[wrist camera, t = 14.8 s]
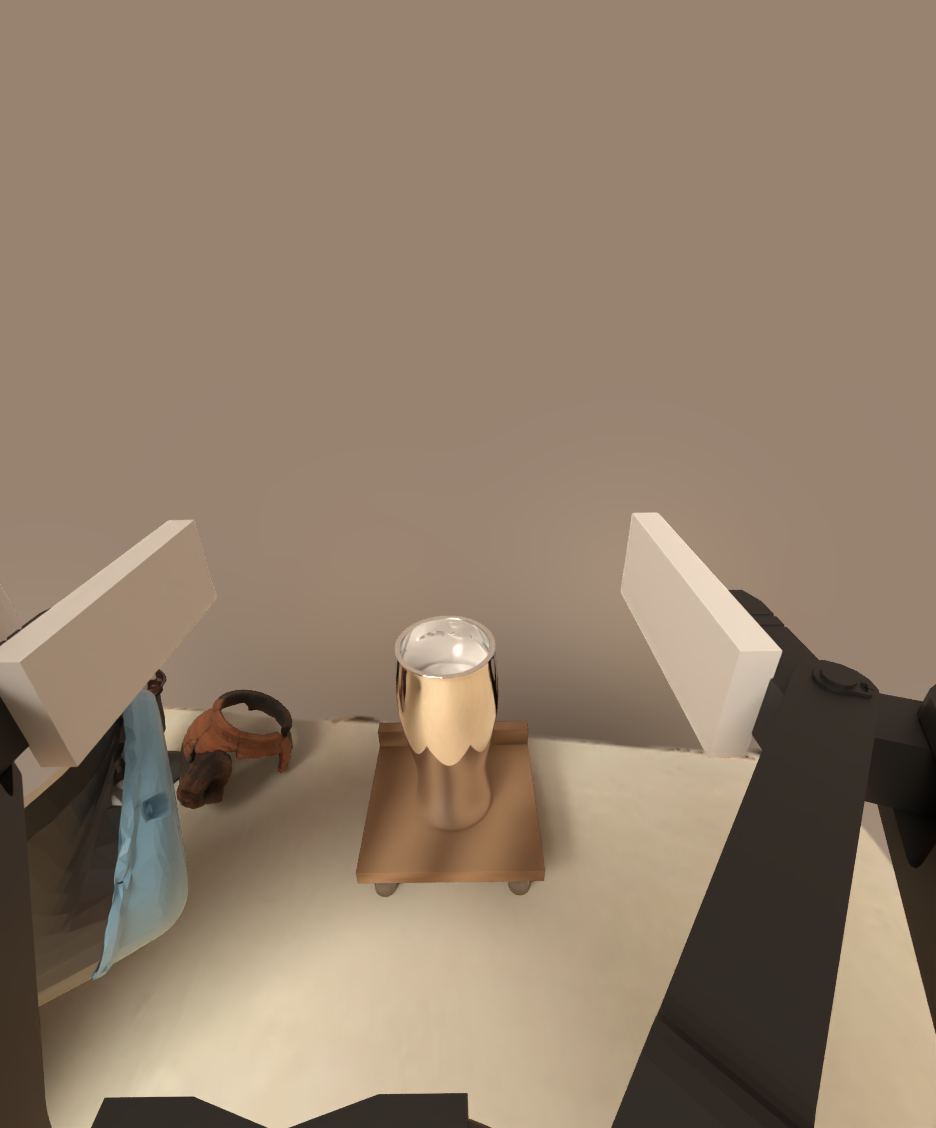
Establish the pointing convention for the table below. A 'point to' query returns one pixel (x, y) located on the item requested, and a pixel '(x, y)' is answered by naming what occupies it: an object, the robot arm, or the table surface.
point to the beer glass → (448, 715)
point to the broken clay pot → (227, 747)
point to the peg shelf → (475, 854)
